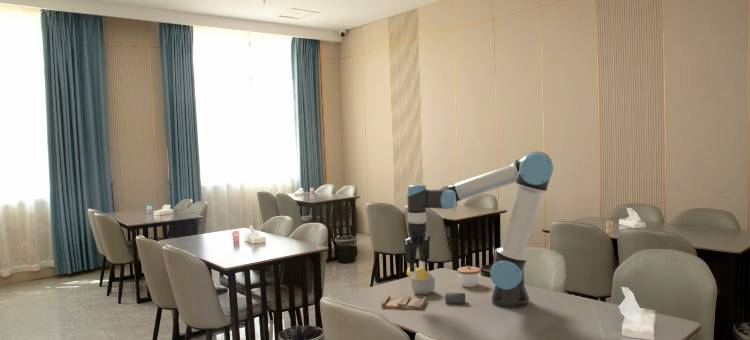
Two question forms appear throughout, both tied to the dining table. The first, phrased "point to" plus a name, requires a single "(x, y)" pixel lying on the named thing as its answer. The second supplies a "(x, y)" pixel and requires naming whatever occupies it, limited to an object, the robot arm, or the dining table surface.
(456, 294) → the gray cylinder
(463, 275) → the lidded jar
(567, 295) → the dining table surface
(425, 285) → the teacup
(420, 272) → the yellow foam roll
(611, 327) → the dining table surface
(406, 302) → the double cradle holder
